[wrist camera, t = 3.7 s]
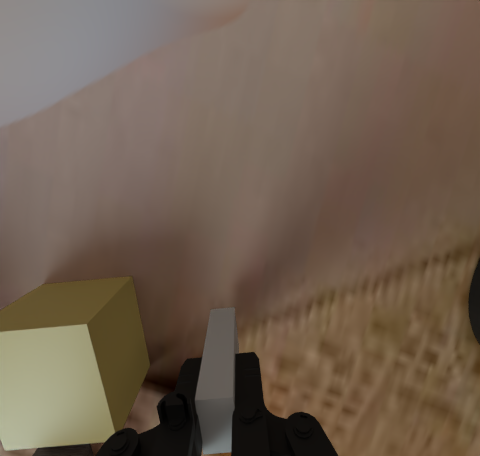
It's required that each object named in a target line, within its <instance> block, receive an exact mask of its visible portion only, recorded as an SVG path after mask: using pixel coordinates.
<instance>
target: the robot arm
mask: <svg viewBox="0 0 480 456" xmlns="http://www.w3.org/2000/svg"><path fill="white" fill-rule="evenodd" d="M469 317H470V323H471V326H472V330H473V332H474V335H475V337H476V339H477V341H478V343H479V344H480V260H479V262H478V265H477V267H476V270H475V273H474V276H473V279H472V283H471V287H470V293H469ZM157 410H158V415H159V420H160V424H159V425H158V426H156V427H155V428H153V429H151V430H148V431H146V432H143V433H141V434H137V432H136V430H134V429H132V428H124V429H122V430H119V431H117V432H115V433H114V434H113V435H111V436H110V437H109V438H108V439H107V441H106V442H105V443H104V444H103V446H102V447H101V449H100V450H99V452H98V453H97V454H96V456H201V452H202V448H203V454H214V453H226V452H231V456H338V454H337V453H336V451H335V449H334V448H333V446H332V444H331V442H330V441H329V439H328V437H327V436H326V434H325V432H324V430H323V429H322V427H321V425H320V424H319V422H318V421H317V420H316V419H315V417H313V416H311V415H310V414H308V413H304V412H297V413H294V414H292V415H290V416H289V417H288V419H284V418H280V417H277V416H275V415H273V414H272V413H270V412H269V411H268V410H267V408H266V406H265V404H264V400H263V391H262V382H261V373H260V365H259V358H258V357H257V356H256V354H255V353H254V352H249V353H239V343H238V334H237V325H236V316H235V307H231V308H220V309H211V312H210V317H209V323H208V328H207V334H206V340H205V345H204V351H203V356H202V357H201V358H190V359H187V360H186V361H185V362H184V364H183V365H182V366H181V370H180V373H179V377H178V381H177V384H176V388H175V391H174V392H171V393H169V394H167V395H165V396H164V397H163V398H162V399H161V400H160V402H159V403H158V405H157Z"/></svg>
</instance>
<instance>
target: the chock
mask: <svg viewBox="0 0 480 456" xmlns="http://www.w3.org/2000/svg"><path fill="white" fill-rule="evenodd" d="M149 367H150V361H149V357H148V352H147V347H146V342H145V337H144V332H143V327H142V322H141V317H140V312H139V307H138V303H137V298H136V293H135V288H134V283H133V278H132V276H128V277H117V278H105V279H94V280H83V281H72V282H61V283H50V284H42V285H41V286H39V287H38V288H36V289H34V290H33V291H31V292H29V293H28V294H26V295H25V296H23V297H21V298H20V299H18V300H16V301H15V302H13V303H11V304H10V305H8V306H7V307H5V308H3V309H2V310H0V439H1V442H2V444H3V447H4V449H5V451H6V450H18V449H30V448H42V447H53V446H65V445H77V444H89V443H101V442H106V441H107V439H108V438H109V437H110V436H111V435H113V434H114V433H115V432H117V431H119V430H122V429H123V427H124V424H125V422H126V420H127V417H128V415H129V413H130V411H131V408H132V406H133V404H134V401H135V399H136V397H137V394H138V392H139V390H140V388H141V385H142V383H143V381H144V378H145V376H146V374H147V371H148V369H149Z"/></svg>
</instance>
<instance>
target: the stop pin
mask: <svg viewBox="0 0 480 456" xmlns="http://www.w3.org/2000/svg"><path fill="white" fill-rule="evenodd" d="M33 456H93V452H92V449H91V446H90V443H89V444H77V445H65V446H53V447H42V448H37V450H36V451H35V453H34V454H33Z"/></svg>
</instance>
